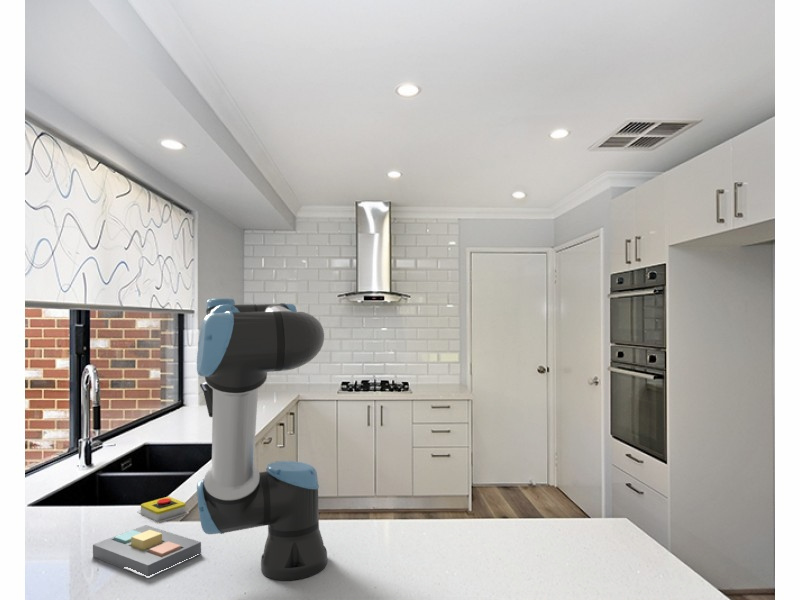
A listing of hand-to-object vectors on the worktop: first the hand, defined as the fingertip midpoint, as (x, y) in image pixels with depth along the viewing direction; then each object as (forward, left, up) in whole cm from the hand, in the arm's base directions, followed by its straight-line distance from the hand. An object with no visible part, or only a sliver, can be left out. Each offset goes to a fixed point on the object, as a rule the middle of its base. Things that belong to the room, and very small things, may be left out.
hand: (223, 442), depth 146 cm
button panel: (+6, +19, -24) cm, 31 cm away
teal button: (+13, +19, -24) cm, 33 cm away
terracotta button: (-1, +19, -24) cm, 31 cm away
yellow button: (+6, +19, -22) cm, 30 cm away
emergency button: (+30, -1, -25) cm, 39 cm away
